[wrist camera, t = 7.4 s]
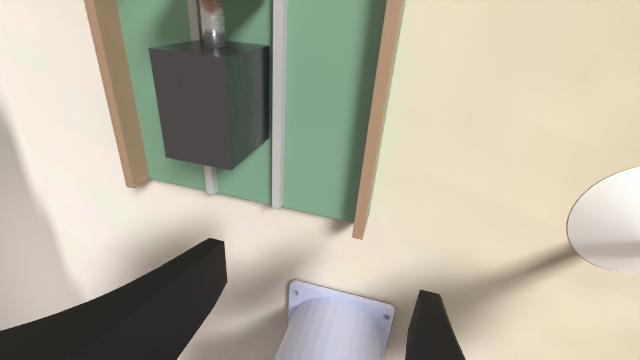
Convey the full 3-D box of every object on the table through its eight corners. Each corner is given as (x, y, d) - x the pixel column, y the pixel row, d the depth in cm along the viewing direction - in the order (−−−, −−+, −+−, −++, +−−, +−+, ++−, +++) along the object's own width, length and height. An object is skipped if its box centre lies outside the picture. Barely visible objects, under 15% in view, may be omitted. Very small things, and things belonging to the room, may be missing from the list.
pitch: (368, 214, 22) (351, 282, 17) (154, 169, 25) (81, 214, 20) (439, -200, 13) (449, -342, 8) (89, -189, 16) (-76, -284, 11)
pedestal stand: (273, 138, 20) (233, 174, 15) (211, 127, 20) (157, 159, 16) (274, -41, 15) (220, -57, 11) (196, -46, 16) (119, -63, 12)
